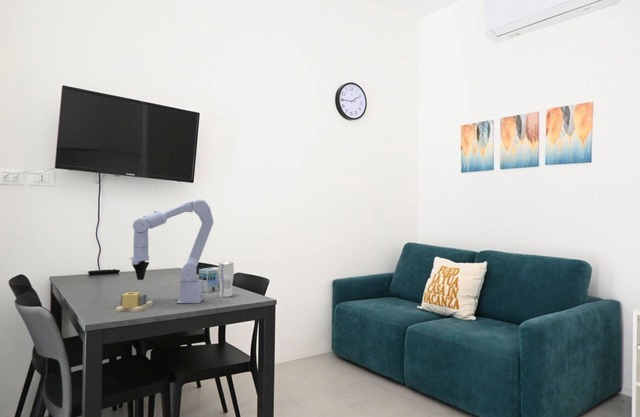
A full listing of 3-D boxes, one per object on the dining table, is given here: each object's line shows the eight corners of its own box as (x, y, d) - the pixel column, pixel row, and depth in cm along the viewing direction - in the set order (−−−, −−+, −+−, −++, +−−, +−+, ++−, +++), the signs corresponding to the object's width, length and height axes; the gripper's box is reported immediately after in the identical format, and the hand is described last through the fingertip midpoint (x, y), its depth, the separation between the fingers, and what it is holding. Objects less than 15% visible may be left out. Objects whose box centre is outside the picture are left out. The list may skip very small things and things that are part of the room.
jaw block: (139, 304, 174) (140, 292, 174) (135, 307, 169) (135, 294, 169) (127, 304, 174) (127, 292, 174) (122, 307, 169) (122, 294, 169)
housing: (147, 302, 178) (147, 293, 178) (142, 305, 173) (142, 296, 173) (124, 302, 177) (124, 293, 177) (119, 305, 172) (119, 296, 172)
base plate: (152, 304, 182) (152, 295, 182) (141, 311, 169) (141, 301, 169) (127, 304, 181) (128, 295, 181) (115, 311, 168) (115, 301, 168)
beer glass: (229, 297, 196) (230, 264, 196) (215, 296, 198) (215, 263, 198) (235, 294, 203) (236, 262, 203) (221, 294, 204) (222, 262, 204)
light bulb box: (207, 293, 206) (207, 270, 206) (197, 291, 210) (198, 269, 210) (224, 289, 215) (224, 267, 215) (214, 288, 219) (214, 266, 219)
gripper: (137, 245, 190) (137, 276, 190) (124, 248, 175) (124, 282, 175) (153, 245, 190) (153, 276, 190) (142, 248, 176) (142, 282, 176)
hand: (140, 279), depth 183 cm, fingers closed
